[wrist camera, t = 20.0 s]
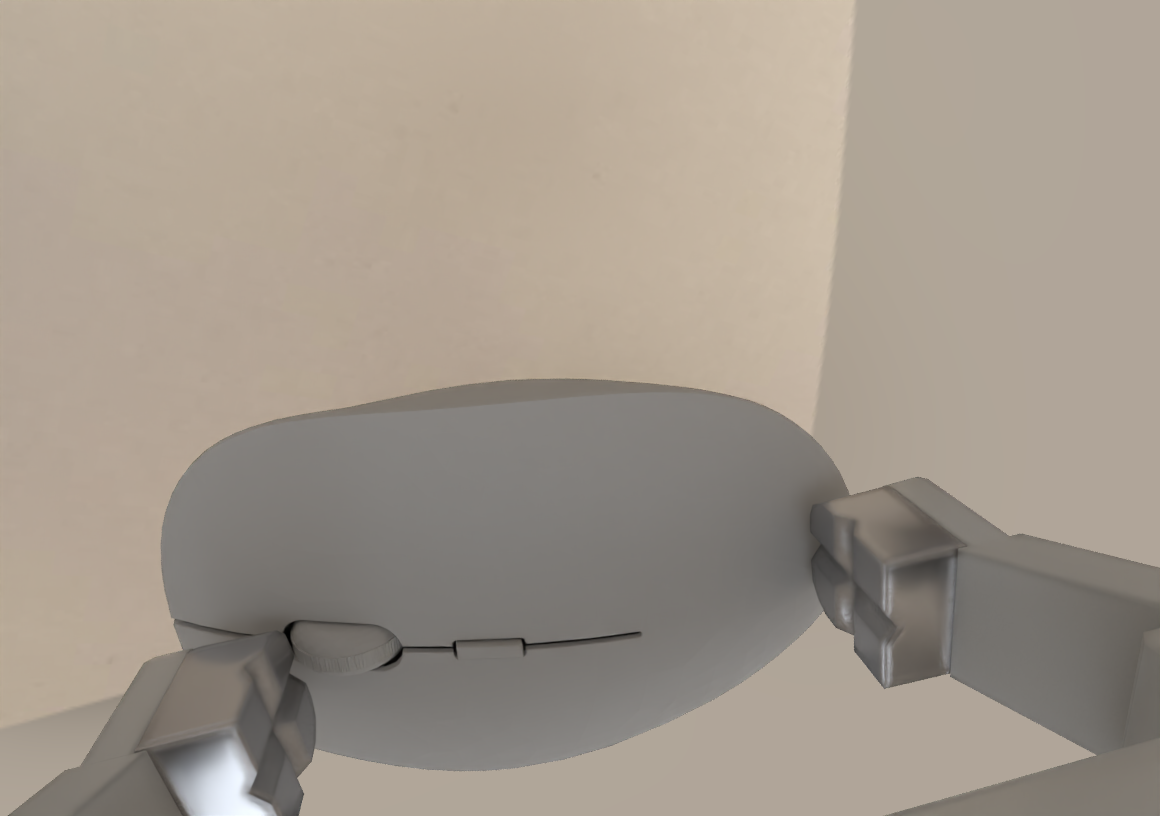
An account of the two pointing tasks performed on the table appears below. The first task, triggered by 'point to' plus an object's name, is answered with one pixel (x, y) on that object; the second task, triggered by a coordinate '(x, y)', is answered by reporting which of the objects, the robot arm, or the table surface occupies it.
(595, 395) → the computer mouse
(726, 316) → the table surface
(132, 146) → the table surface
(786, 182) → the table surface
